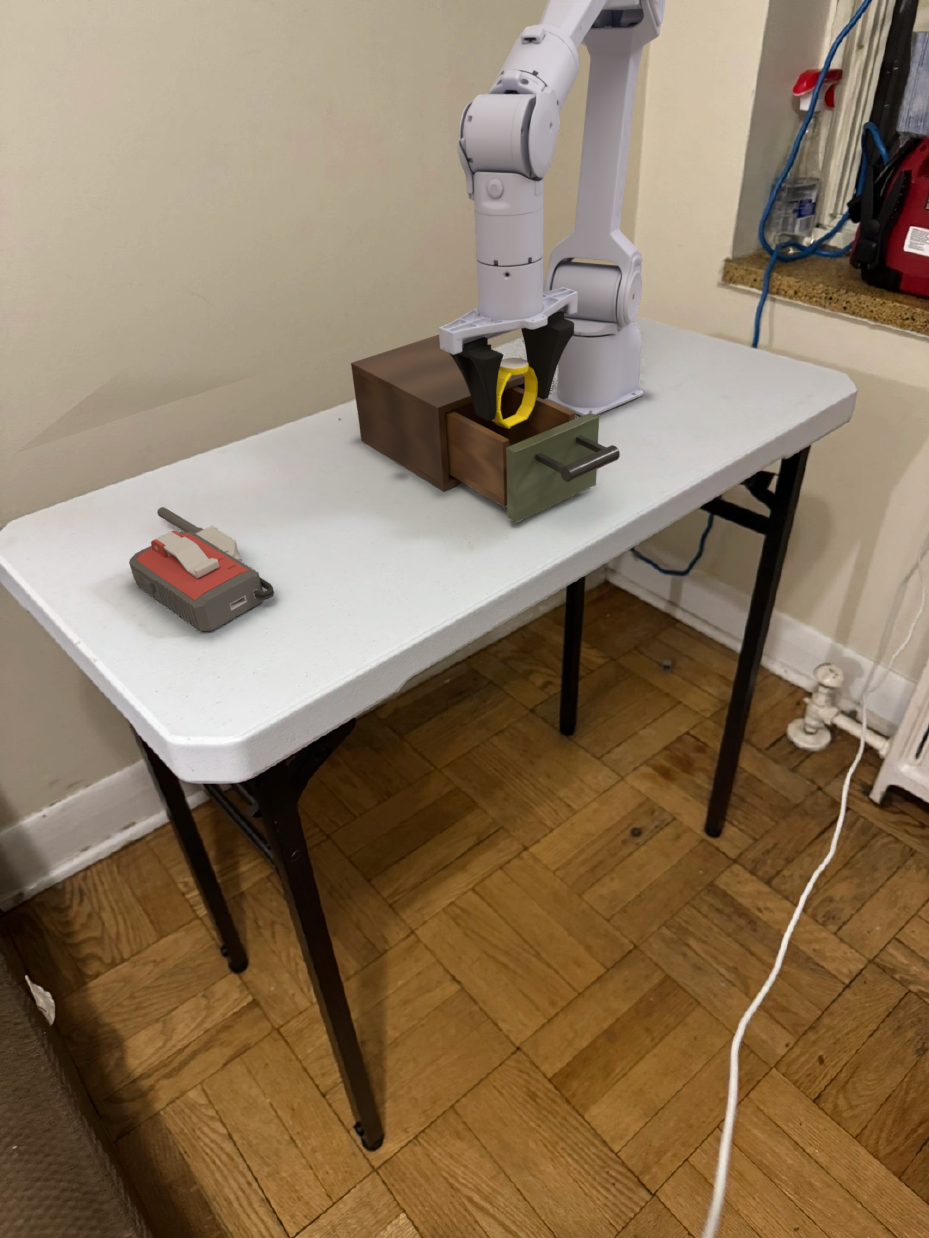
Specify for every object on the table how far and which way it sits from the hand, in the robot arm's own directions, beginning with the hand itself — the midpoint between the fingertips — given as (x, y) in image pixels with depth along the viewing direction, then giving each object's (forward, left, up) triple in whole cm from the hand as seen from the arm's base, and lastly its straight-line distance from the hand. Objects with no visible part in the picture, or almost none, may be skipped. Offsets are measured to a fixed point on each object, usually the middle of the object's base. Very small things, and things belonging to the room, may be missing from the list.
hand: (512, 406), depth 82 cm
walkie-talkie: (+32, -8, -9) cm, 34 cm away
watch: (0, 0, -2) cm, 2 cm away
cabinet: (0, -12, -9) cm, 15 cm away
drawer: (0, +2, -8) cm, 8 cm away
